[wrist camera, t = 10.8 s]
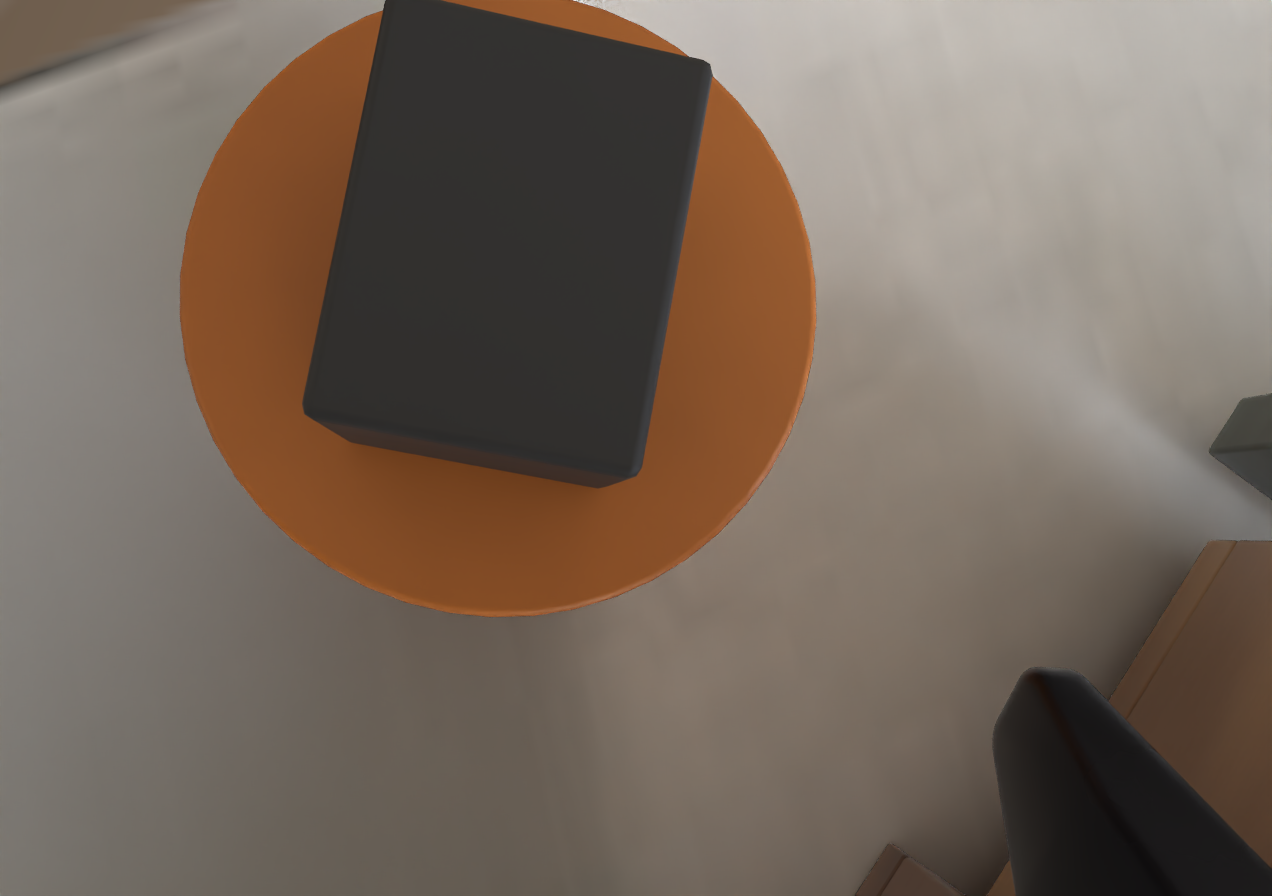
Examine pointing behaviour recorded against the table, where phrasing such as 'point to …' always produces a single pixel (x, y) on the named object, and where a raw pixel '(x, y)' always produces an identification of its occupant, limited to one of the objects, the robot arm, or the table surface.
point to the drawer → (1214, 661)
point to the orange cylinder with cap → (498, 304)
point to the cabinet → (903, 877)
